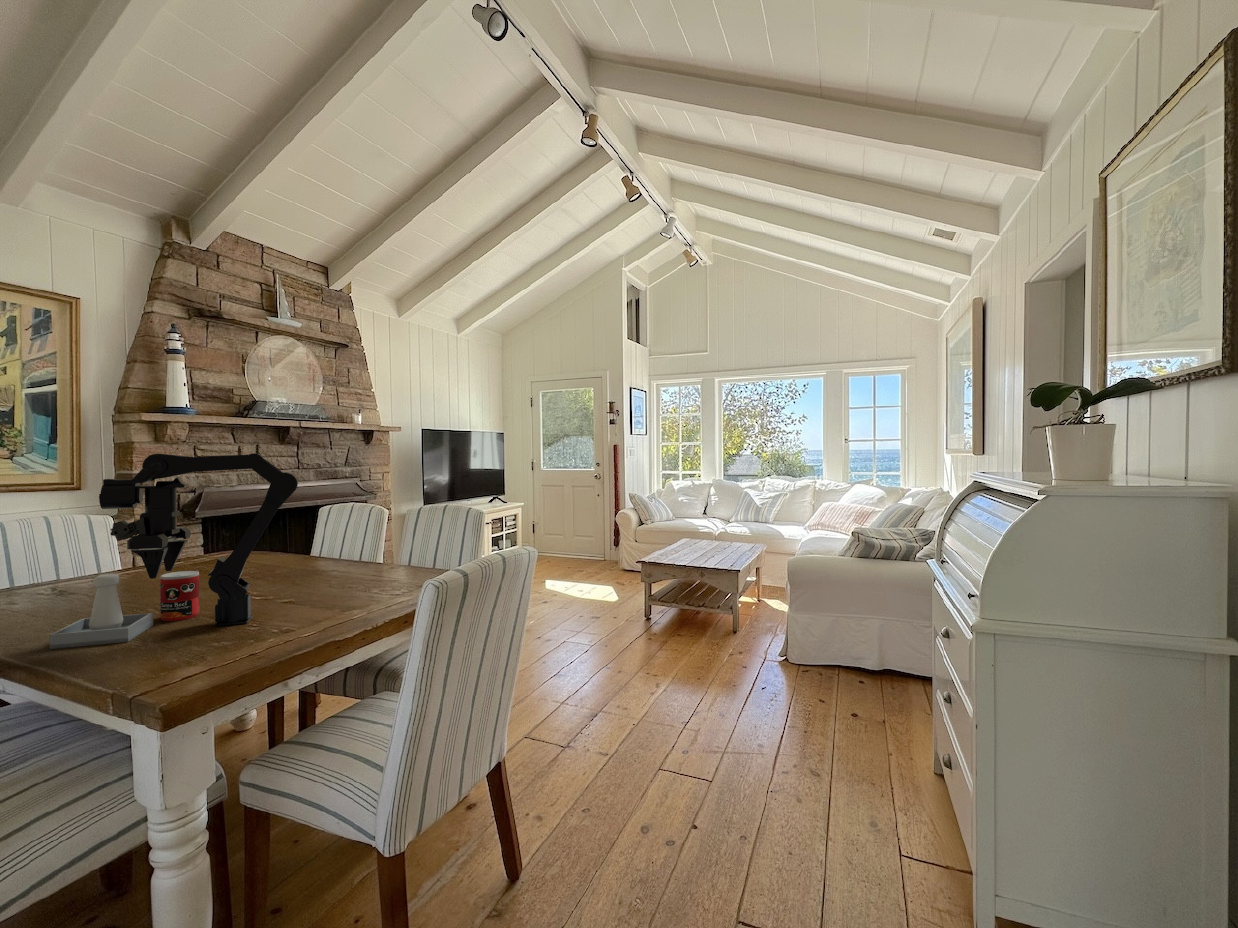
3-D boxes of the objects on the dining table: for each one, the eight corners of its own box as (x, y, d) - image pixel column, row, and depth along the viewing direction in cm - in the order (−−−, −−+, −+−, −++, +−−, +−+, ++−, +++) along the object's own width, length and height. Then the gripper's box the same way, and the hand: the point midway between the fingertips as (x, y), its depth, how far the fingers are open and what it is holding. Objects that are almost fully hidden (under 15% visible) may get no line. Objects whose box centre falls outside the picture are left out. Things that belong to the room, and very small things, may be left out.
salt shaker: (91, 638, 122) (91, 578, 122) (85, 633, 126) (85, 575, 126) (126, 631, 127) (126, 574, 127) (120, 627, 130) (120, 571, 130)
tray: (153, 625, 135) (153, 612, 135) (128, 641, 122) (128, 627, 122) (83, 631, 130) (82, 618, 130) (49, 649, 118) (49, 634, 118)
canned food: (153, 622, 137) (153, 577, 137) (171, 613, 145) (171, 571, 145) (189, 620, 139) (189, 576, 139) (205, 612, 147) (205, 570, 147)
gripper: (135, 505, 136) (135, 569, 136) (96, 512, 119) (96, 585, 119) (190, 504, 140) (191, 566, 140) (161, 510, 123) (161, 581, 123)
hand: (161, 574), depth 131 cm, fingers open, 9 cm apart
